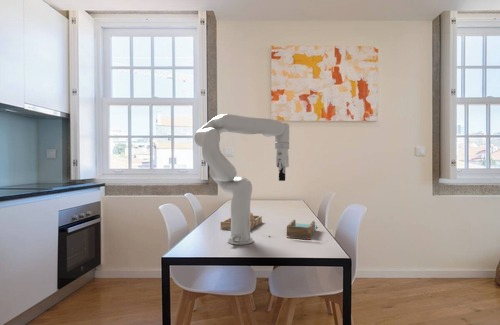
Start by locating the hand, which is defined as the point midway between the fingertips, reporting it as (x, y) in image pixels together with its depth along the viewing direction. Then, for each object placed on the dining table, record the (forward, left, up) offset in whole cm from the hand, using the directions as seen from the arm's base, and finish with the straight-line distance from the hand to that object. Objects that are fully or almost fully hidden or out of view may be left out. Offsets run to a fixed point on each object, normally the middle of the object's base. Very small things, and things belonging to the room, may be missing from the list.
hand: (282, 180), depth 162 cm
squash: (+16, +28, -30) cm, 44 cm away
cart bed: (+3, -10, -29) cm, 31 cm away
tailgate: (+12, -10, -28) cm, 32 cm away
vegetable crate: (+14, +28, -29) cm, 43 cm away
